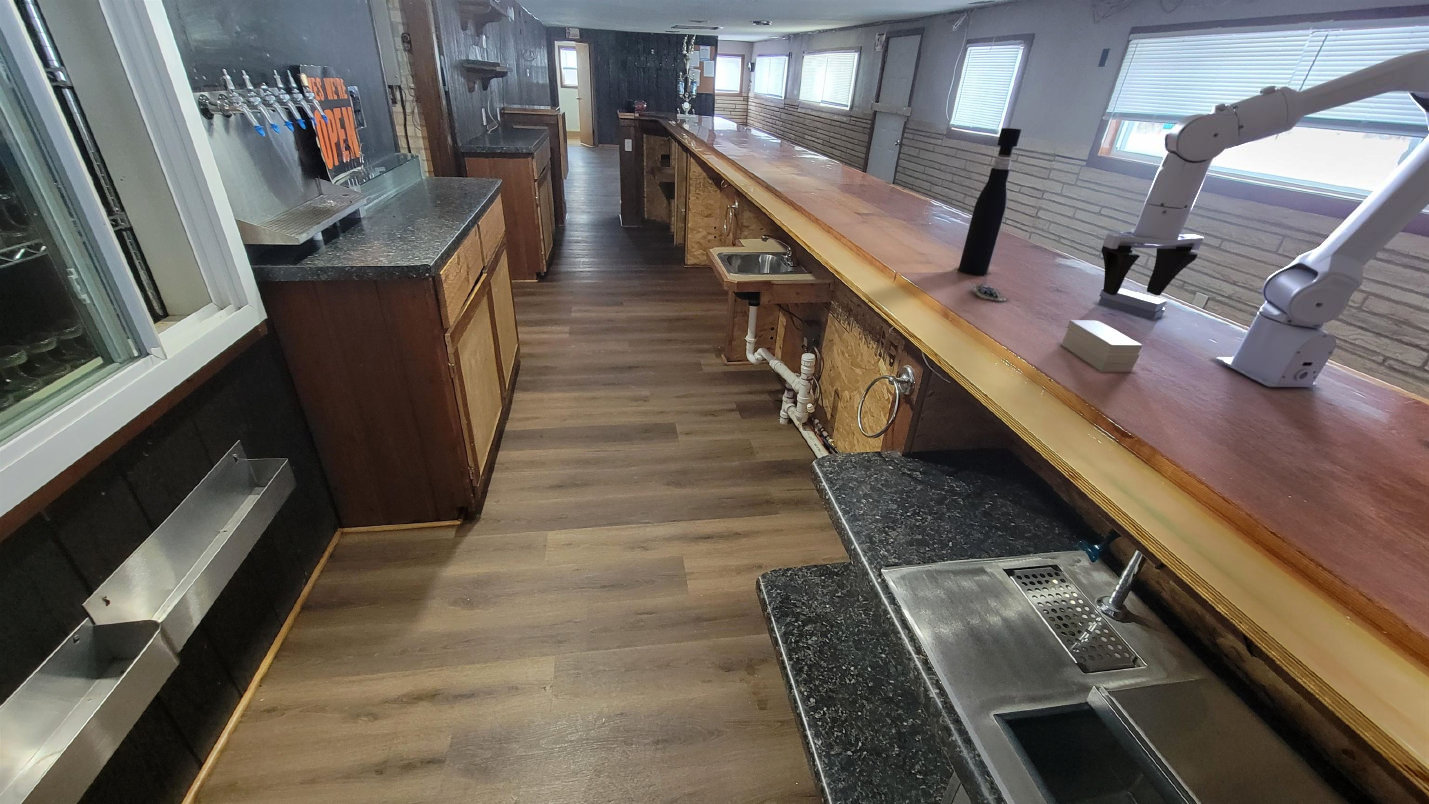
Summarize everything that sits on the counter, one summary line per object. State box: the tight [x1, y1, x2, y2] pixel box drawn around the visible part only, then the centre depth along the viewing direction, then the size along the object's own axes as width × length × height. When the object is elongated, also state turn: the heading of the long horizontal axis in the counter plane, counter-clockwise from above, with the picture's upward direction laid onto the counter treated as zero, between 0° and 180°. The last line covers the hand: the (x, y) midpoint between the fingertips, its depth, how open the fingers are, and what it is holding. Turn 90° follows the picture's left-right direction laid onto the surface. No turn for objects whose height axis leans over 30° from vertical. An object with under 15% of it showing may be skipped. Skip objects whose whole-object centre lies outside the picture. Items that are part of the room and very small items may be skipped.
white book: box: [1066, 319, 1143, 354], centre depth 89 cm, size 10×5×1 cm, turn 5°
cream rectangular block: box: [1060, 328, 1140, 372], centre depth 90 cm, size 10×5×3 cm, turn 5°
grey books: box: [1097, 287, 1168, 321], centre depth 111 cm, size 10×4×3 cm, turn 35°
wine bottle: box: [958, 127, 1023, 276], centre depth 124 cm, size 6×6×30 cm
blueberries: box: [970, 284, 1007, 302], centre depth 116 cm, size 7×8×2 cm
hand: (1131, 293), depth 90 cm, fingers open, 7 cm apart
